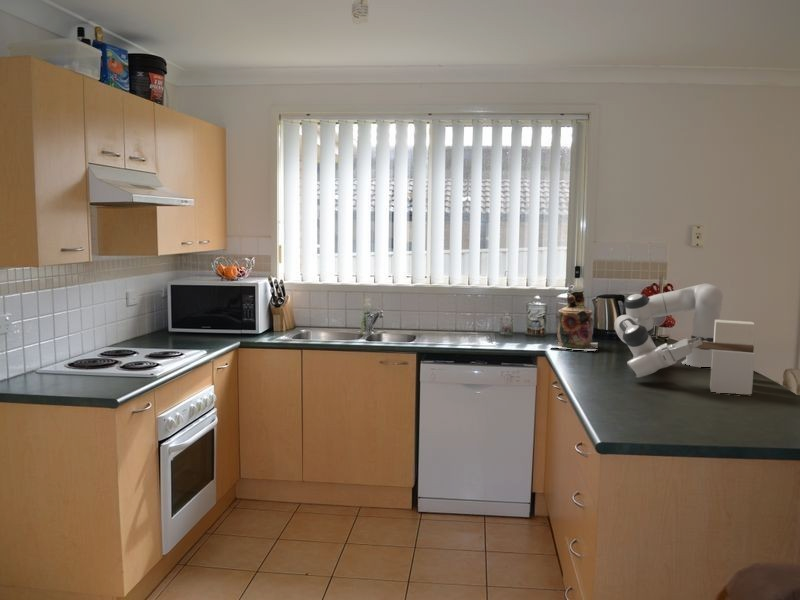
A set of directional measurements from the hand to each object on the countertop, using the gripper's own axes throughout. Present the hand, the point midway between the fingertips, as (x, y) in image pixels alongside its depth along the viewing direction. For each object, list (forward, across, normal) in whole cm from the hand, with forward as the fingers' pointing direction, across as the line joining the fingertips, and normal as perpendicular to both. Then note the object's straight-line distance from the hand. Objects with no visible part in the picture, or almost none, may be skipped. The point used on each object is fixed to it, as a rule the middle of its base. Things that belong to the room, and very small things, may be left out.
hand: (701, 339), depth 258 cm
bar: (+5, 0, -6) cm, 8 cm away
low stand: (0, 0, -23) cm, 23 cm away
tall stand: (+1, -16, -23) cm, 28 cm away
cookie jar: (-62, -78, +12) cm, 100 cm away
